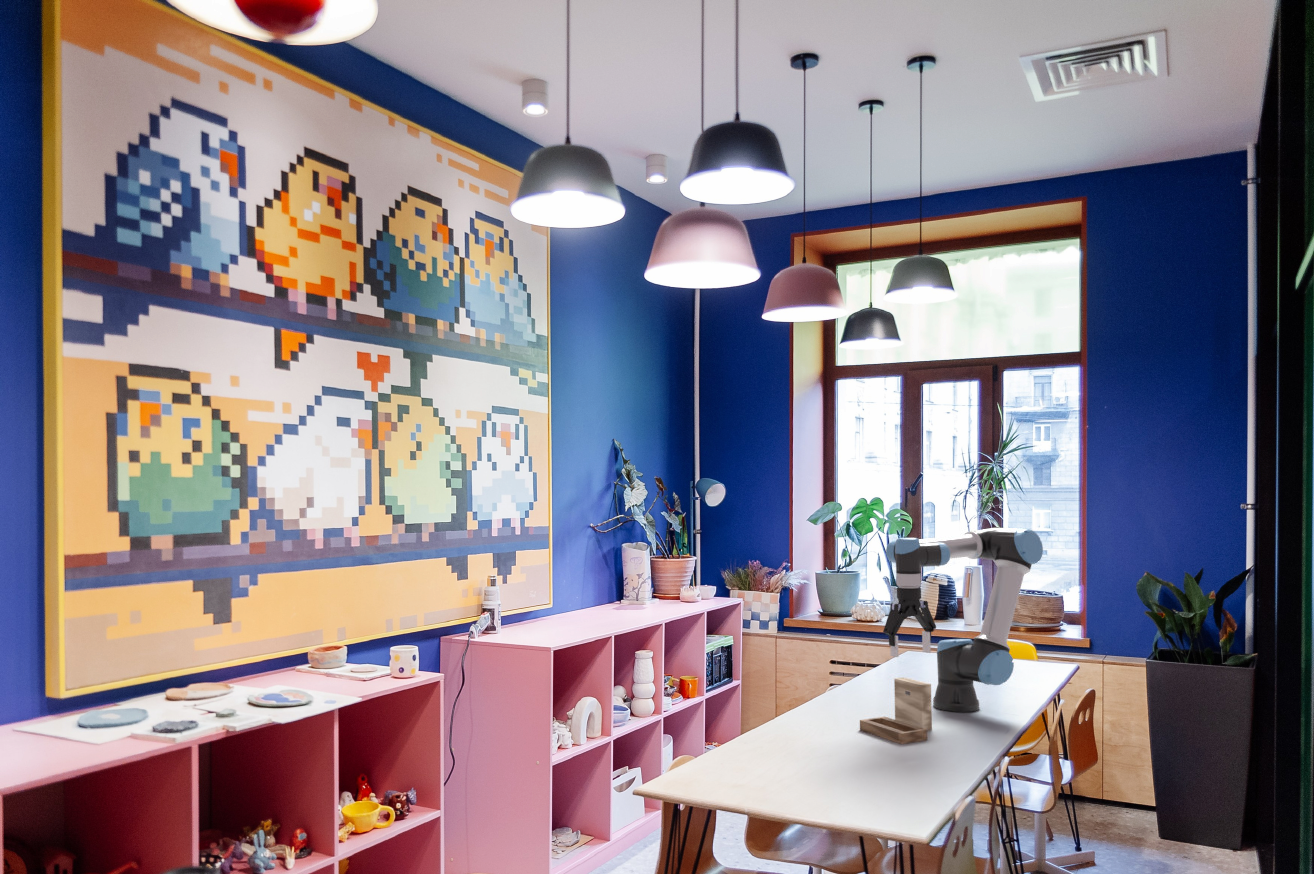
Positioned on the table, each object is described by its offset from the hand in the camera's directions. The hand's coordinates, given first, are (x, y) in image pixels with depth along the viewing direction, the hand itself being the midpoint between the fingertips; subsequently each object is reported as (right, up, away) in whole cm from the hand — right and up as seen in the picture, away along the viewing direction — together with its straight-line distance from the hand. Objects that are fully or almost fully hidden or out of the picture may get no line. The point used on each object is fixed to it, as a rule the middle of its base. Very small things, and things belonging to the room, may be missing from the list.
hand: (910, 654), depth 289 cm
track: (-9, -22, -12) cm, 26 cm away
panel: (0, -22, -1) cm, 22 cm away
